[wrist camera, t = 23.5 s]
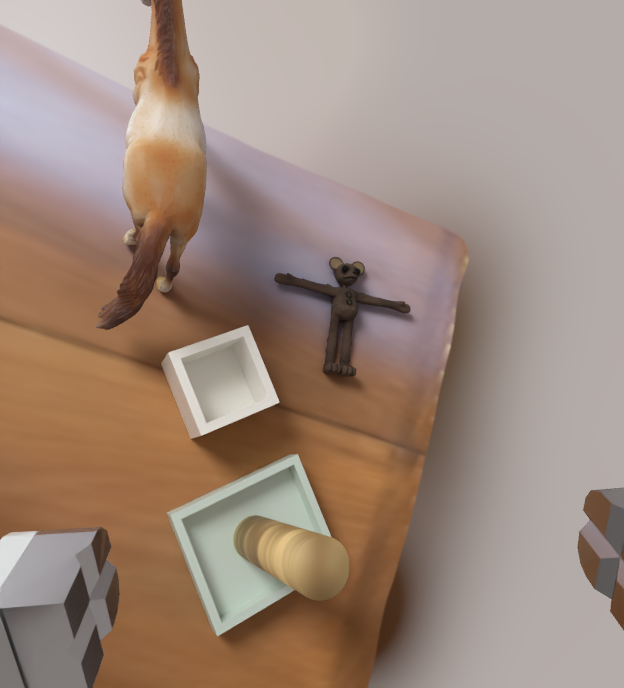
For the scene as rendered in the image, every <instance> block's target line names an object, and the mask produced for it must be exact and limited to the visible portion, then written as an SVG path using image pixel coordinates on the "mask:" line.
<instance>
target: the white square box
mask: <svg viewBox="0 0 624 688" xmlns="http://www.w3.org/2000/svg"><path fill="white" fill-rule="evenodd" d="M161 365H162V368H163V370H164V373H165V375H166V378H167V380H168V383H169V385H170V388H171V390H172V393H173V395H174V398H175V400H176V403H177V406H178V408H179V411H180V413H181V416H182V418H183V421H184V423H185V426H186V428H187V431H188V433H189V436H190V438H191V439H192V438H195V437H199V436H202V435H204V434H207V433H209V432H211V431H214V430H216V429H218V428H221V427H223V426H225V425H228V424H230V423H233V422H235V421H237V420H240V419H242V418H244V417H247V416H249V415H251V414H254V413H256V412H258V411H261V410H263V409H266V408H268V407H270V406H273V405H275V404H277V403H280V402H279V399H278V397H277V395H276V392H275V390H274V387H273V385H272V382H271V380H270V377H269V375H268V372H267V370H266V368H265V365H264V363H263V360H262V358H261V355H260V353H259V350H258V348H257V345H256V343H255V341H254V338H253V336H252V333H251V331H250V328H249V326H248V325H247V326H244V327H241V328H238V329H235V330H233V331H230V332H227V333H224V334H221V335H218V336H215V337H212V338H209V339H206V340H204V341H201V342H198V343H195V344H192V345H189V346H186V347H183V348H180V349H177V350H175V351H172V352H169V353H168V354H167V355H166V357H165V358H164V360H163V362H162V363H161Z"/></svg>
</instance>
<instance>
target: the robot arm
mask: <svg viewBox="0 0 624 688" xmlns="http://www.w3.org/2000/svg"><path fill="white" fill-rule="evenodd" d="M583 510H584V512H585V513H586V515H587V516H588V517H589V519H590V521H589V522H588V523H587V524H586V525H585V526H584V527H583V528H582V529H581V530H580V533H579V541H578V552H579V558H580V563H581V566H582V568H583V570H584V573H585V575H586V577H587V579H588V580H589V581H590V583H591V584H592V586H593V587H594V589H596V590H597V591H599V592H600V593H602V594H604V595H606V596H607V597H609V598H611V599H612V601H611V610H610V611H611V613H612V614H613V616H614V617H615V619H616V620H617V621H618V623H619V624H620V626H621V627H622V628H623V630H624V488H614V489H602V490H591V491H590V492H589V494H588V495H587V497H586V499H585V504H584V509H583ZM110 549H111V543H110V540H109V536H108V532H107V530H105V529H104V528H102V527H96V528H77V529H58V530H42V531H29V532H13V533H9V534H7V535H6V536H4V537H2V539H1V540H0V688H93V685H94V682H95V679H96V676H97V673H98V670H99V667H100V664H101V661H102V658H103V655H104V654H103V650H102V646H101V642H100V640H101V639H102V638H104V637H105V636H106V635H107V634H108V633H109V632H110V631H111V630H112V628H113V625H114V622H115V619H116V615H117V610H118V603H119V595H120V593H119V579H118V574H117V569H116V567H114V566H113V565H112V564H111V563H110V562H109V561H107V560H106V559H107V557H108V554H109V552H110Z"/></svg>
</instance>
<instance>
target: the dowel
mask: <svg viewBox="0 0 624 688" xmlns="http://www.w3.org/2000/svg"><path fill="white" fill-rule="evenodd" d="M233 541H234V547H235V549H236V551H237V553H238V554H239V555H240V556H241V557H242V558H244V559H246V560H247V561H249V562H251V563H252V564H254V565H255V566H257V567H259V568H260V569H262V570H264V571H265V572H267V573H268V574H270V575H272V576H273V577H275V578H276V579H278V580H280V581H281V582H283V583H285V584H286V585H288V586H289V587H291V588H293V589H294V590H296V591H298V592H299V593H301V594H302V595H304V596H306V597H307V598H309V599H311V600H315V601H324V600H328V599H331V598H333V597H334V596H336V595H337V594H338V593H339V592H340V591H341V590H342V589H343V587H344V586H345V584H346V582H347V579H348V575H349V570H350V564H349V557H348V554H347V552H346V550H345V548H344V546H343V545H342V544H341V543H340V542H339V541H338V540H336V539H334V538H332V537H329V536H326V535H323V534H319V533H316V532H313V531H309V530H306V529H303V528H299V527H296V526H293V525H289V524H286V523H282V522H279V521H276V520H272V519H269V518H266V517H262V516H258V515H253V516H249V517H247V518H245V519H243V520H242V521H241V522H240V523H239V524H238V526H237V527H236V530H235V532H234V538H233Z"/></svg>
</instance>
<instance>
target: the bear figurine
mask: <svg viewBox="0 0 624 688" xmlns="http://www.w3.org/2000/svg"><path fill="white" fill-rule="evenodd" d="M329 265H330V267H331V269H333V270H335V278H336V280H337V281H338V282H339V283H340V284H341V285H342V287H332V286H331V285H329V284H326V285H324V284H319V283H315V282H311V281H308V280H305V279H299V278H296V277H294V276H292V275H291V274H289V273H287V275H285V274H281V273H278V274H276V275H275V278H274V279H275V281H276V282H277V283H280V284H286V285H293V286H298V287H301V288H305V289H308V290H312V291H315V292H318V293H322V294H325V295H329V296H332V297H333V302H332V308H331V321H330V329H329V336H328V339H327V342H328V343H327V348H326V359H325V364H324V367H323V372H324V373H329V374H334V373H337V374H338V375H340V376H355V375H356V368H354V367H352V366H348V363H349V352H350V345H351V336H352V328H353V320H354V318H355V316H356V314H357V309H358V307H357V303H356V302H358V303H362V304H368V305H374V306H380V307H386V308H390V309H393V310H396V311H399V312H402V313H409V312H410V306H409V305H407V304H405V302H403V301H399V302H396V301H389V300H385V299H381V298H376V297H372V296H369V295H366V294H363V293H356V292H355V291H353V290H351V289H348V286H349V285H352V284H354V283H355V282H356V281H357V279H358V276H361V275H362V274H363V273H364V270H365V267H364V265H363V264H362V263H361V262H358V261H357V262H354V263H353V264H344V263H343V261H342V260H341V259H340V258H338V257H333V258H331V259H330V261H329ZM339 320H343V321H345V325H344V332H343V340H342V347H341V355H340V362H339V364H337V363H334V356H335V349H336V345H337V344H336V341H337V332H338V325H339Z"/></svg>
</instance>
